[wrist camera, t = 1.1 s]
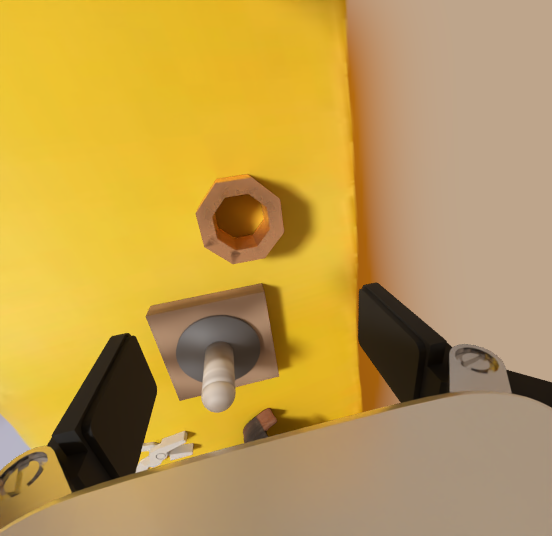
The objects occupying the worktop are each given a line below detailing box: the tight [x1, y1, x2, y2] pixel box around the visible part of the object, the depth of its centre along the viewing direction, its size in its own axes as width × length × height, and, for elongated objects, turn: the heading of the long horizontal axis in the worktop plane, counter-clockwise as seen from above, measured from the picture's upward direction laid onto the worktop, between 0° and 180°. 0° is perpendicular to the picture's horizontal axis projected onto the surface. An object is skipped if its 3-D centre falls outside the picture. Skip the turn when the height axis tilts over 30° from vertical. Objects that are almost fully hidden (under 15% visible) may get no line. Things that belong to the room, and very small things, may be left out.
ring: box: [196, 174, 284, 264], centre depth 24 cm, size 7×7×4 cm
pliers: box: [135, 431, 193, 473], centre depth 36 cm, size 10×2×15 cm
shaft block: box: [146, 283, 279, 412], centre depth 27 cm, size 12×12×10 cm
